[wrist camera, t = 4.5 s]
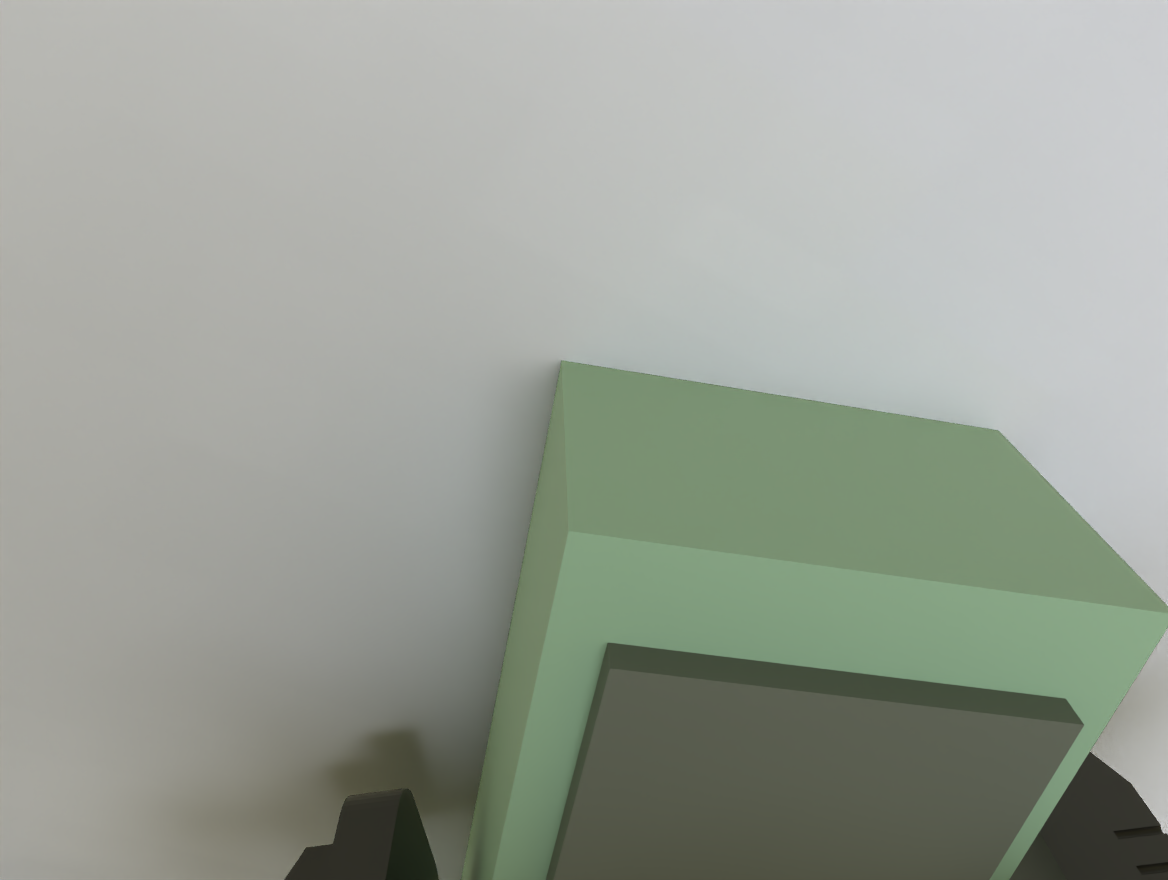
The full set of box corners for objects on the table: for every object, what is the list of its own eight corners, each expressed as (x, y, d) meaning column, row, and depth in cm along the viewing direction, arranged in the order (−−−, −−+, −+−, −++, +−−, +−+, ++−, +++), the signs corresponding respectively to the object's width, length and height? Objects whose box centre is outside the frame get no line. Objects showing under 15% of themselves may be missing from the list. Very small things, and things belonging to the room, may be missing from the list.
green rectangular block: (561, 349, 10) (569, 555, 6) (987, 419, 10) (1199, 639, 7) (451, 923, 14) (422, 1217, 11) (750, 947, 15) (810, 1233, 12)
